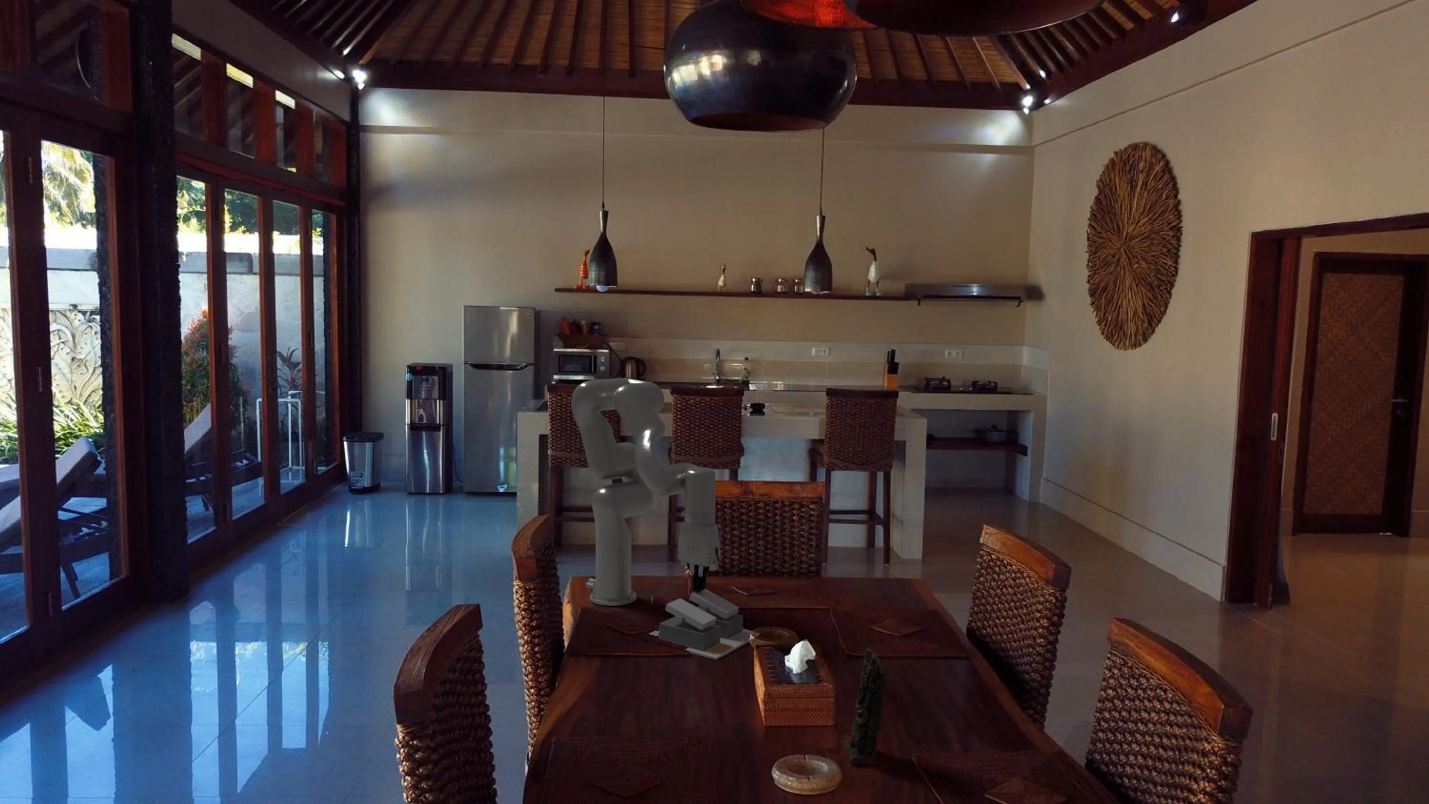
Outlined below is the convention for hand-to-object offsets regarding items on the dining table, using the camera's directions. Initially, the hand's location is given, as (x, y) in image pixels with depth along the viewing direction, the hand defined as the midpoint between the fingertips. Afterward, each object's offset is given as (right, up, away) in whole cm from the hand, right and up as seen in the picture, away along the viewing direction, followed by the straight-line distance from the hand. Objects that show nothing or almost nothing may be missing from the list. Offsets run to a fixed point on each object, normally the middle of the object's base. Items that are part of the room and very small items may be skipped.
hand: (699, 589), depth 246 cm
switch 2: (+4, -4, -2) cm, 5 cm away
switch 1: (-2, -5, -10) cm, 11 cm away
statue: (+31, -18, -65) cm, 75 cm away
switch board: (+1, -11, -5) cm, 12 cm away
